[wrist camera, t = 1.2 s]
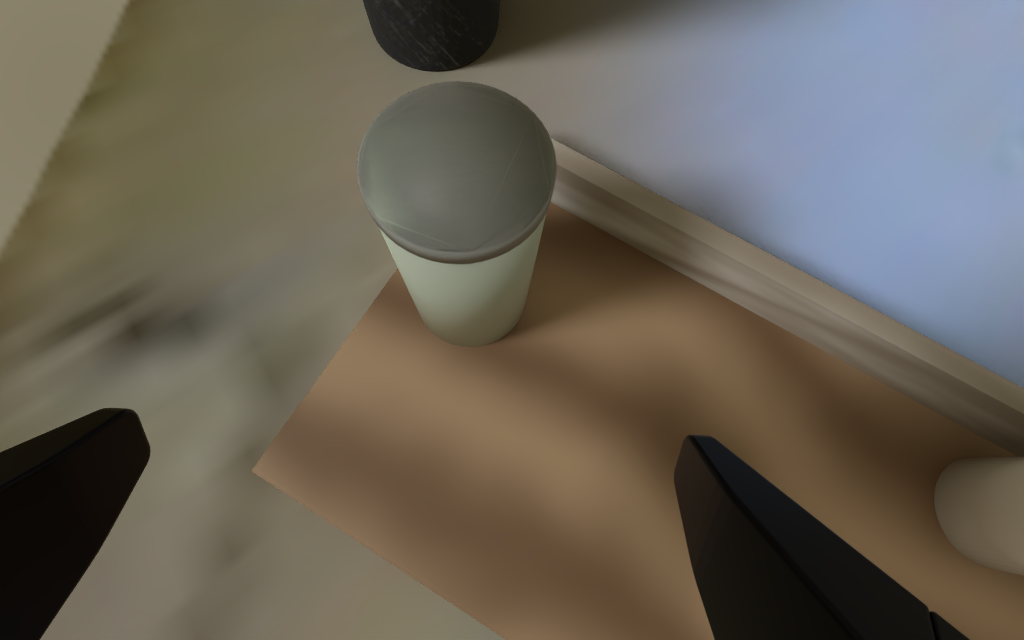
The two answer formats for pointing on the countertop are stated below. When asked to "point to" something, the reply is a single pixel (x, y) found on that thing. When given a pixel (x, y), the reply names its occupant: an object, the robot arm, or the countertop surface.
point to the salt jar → (984, 510)
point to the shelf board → (642, 427)
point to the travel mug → (434, 30)
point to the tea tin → (460, 203)
